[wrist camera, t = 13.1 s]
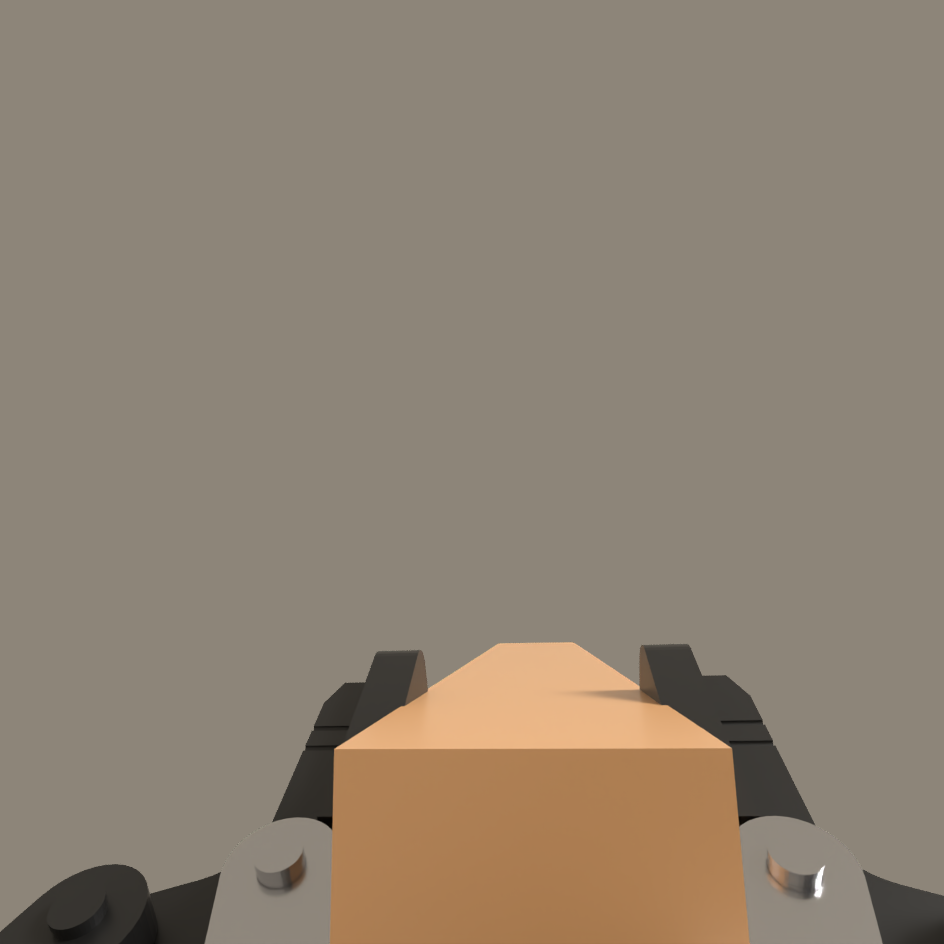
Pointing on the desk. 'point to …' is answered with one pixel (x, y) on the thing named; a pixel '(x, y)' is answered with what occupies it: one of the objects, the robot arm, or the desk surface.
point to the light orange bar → (536, 814)
